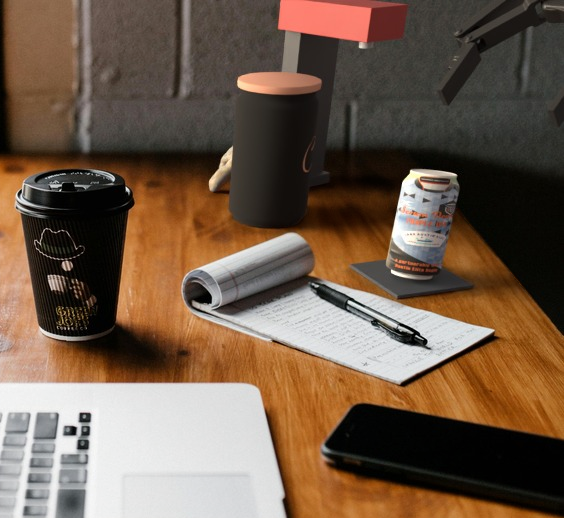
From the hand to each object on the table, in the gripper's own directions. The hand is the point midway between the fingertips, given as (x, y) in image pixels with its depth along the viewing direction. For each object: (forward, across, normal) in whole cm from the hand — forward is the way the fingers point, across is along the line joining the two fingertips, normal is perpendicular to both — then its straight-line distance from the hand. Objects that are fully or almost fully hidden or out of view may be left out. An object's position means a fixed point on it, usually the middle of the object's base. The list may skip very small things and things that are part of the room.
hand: (494, 107), depth 94 cm
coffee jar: (+17, +27, -9) cm, 33 cm away
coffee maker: (+7, +31, -19) cm, 37 cm away
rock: (+11, +45, -15) cm, 49 cm away
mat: (+18, +1, -7) cm, 20 cm away
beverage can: (+18, +1, -7) cm, 20 cm away
